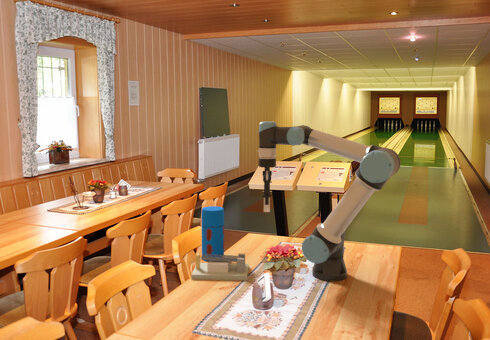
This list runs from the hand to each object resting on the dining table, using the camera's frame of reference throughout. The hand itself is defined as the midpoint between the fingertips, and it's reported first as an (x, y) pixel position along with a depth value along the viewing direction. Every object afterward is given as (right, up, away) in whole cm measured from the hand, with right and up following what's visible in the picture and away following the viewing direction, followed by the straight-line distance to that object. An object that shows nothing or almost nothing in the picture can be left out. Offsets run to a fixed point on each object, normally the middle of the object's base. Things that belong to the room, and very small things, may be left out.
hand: (266, 211), depth 211 cm
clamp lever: (-19, -22, +4) cm, 29 cm away
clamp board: (-20, -28, +5) cm, 35 cm away
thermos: (-25, -25, +25) cm, 44 cm away
